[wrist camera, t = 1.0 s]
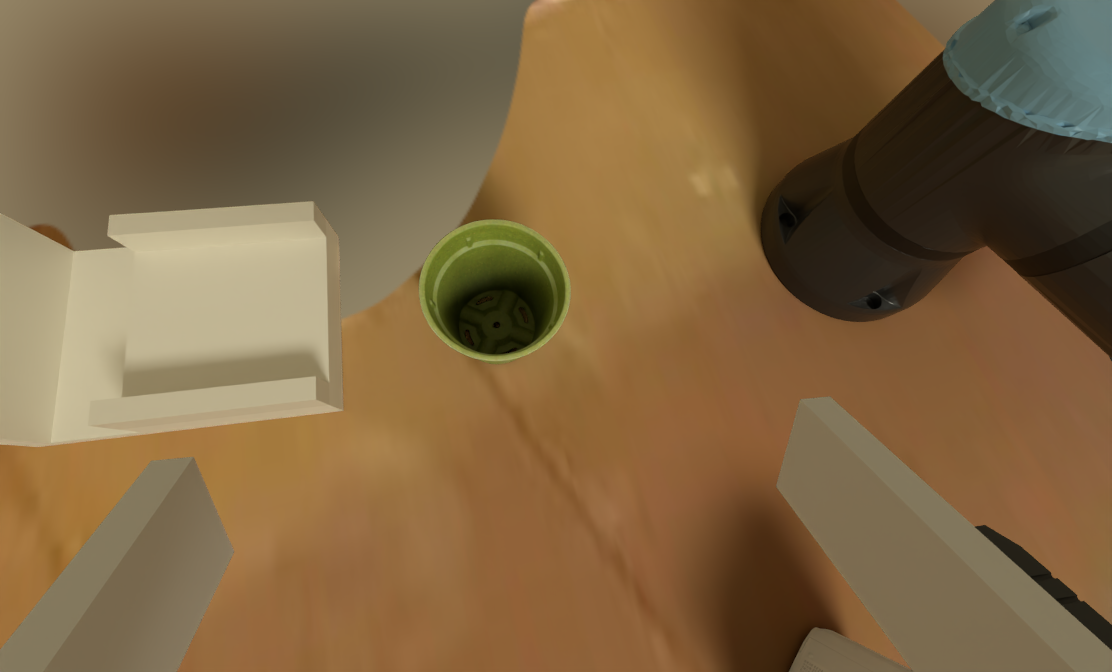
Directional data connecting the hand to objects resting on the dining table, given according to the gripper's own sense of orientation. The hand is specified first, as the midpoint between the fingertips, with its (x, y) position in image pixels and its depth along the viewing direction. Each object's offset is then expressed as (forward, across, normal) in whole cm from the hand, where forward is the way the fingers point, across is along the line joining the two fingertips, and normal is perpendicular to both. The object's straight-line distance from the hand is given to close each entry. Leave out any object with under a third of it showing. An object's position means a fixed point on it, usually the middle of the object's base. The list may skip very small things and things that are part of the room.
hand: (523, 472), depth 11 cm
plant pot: (+27, 0, -10) cm, 29 cm away
